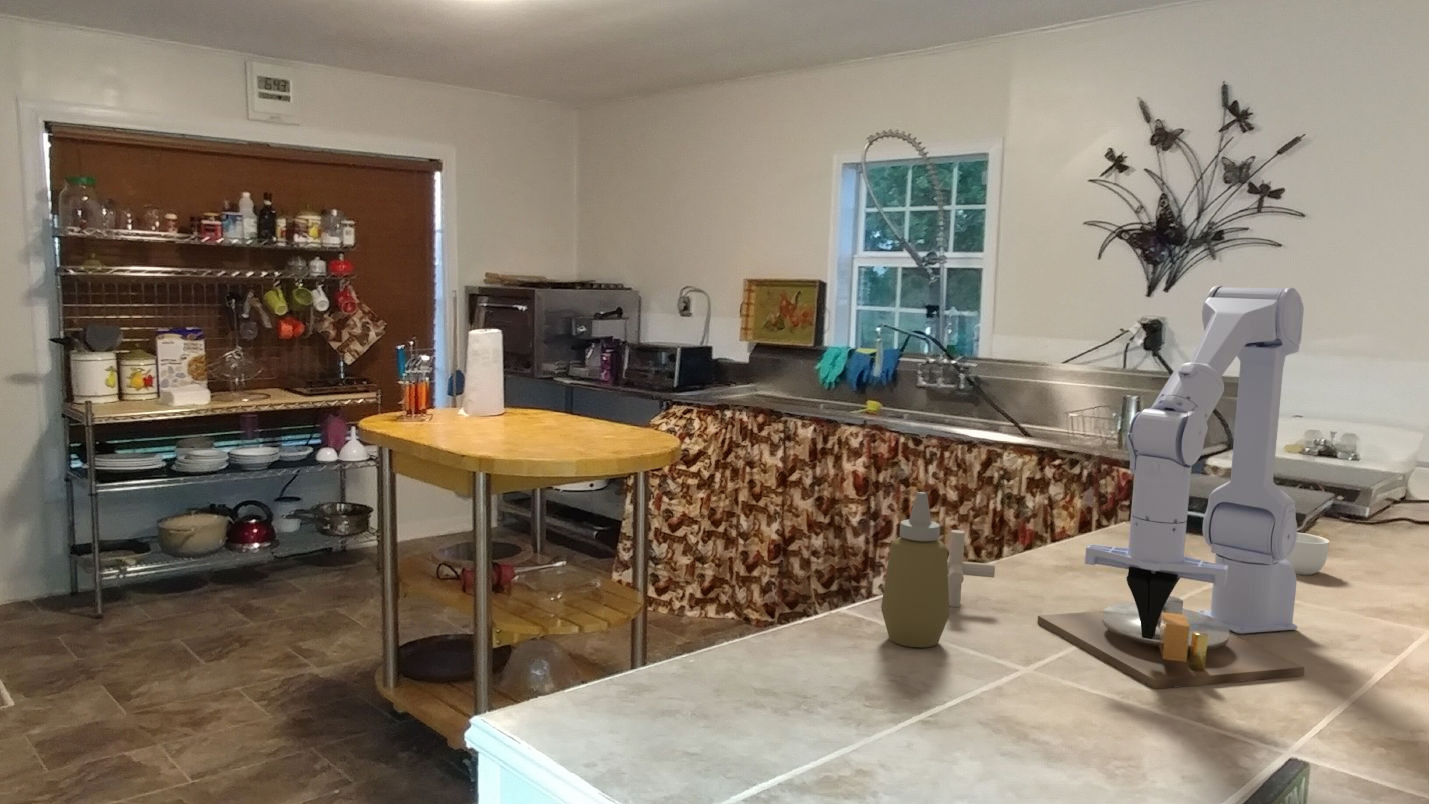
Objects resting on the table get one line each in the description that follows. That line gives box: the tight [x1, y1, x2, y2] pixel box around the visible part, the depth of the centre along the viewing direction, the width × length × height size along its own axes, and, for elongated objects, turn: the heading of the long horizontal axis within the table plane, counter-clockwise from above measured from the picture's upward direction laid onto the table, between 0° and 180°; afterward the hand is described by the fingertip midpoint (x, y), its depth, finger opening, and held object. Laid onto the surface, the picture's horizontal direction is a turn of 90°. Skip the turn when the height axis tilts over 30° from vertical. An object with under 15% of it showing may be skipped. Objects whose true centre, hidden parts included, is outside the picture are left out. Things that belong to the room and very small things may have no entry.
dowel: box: [1189, 632, 1208, 672], centre depth 116 cm, size 2×2×4 cm
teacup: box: [1286, 531, 1330, 576], centre depth 164 cm, size 10×8×5 cm
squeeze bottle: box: [880, 491, 950, 649], centre depth 124 cm, size 8×8×18 cm
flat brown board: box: [1037, 610, 1305, 690], centre depth 125 cm, size 20×22×2 cm
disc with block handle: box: [1102, 595, 1231, 662], centre depth 123 cm, size 18×14×4 cm
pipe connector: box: [947, 529, 996, 608], centre depth 139 cm, size 10×10×10 cm
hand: (1148, 636), depth 117 cm, fingers closed
